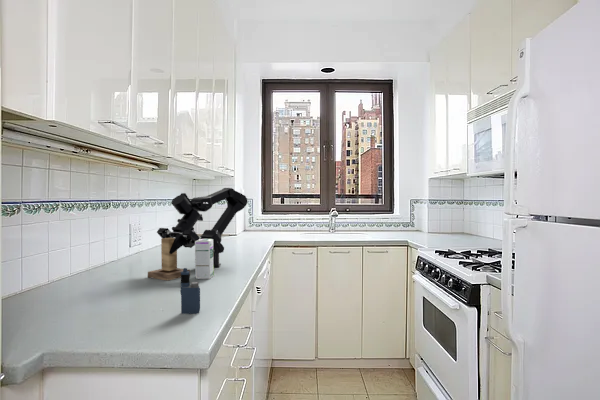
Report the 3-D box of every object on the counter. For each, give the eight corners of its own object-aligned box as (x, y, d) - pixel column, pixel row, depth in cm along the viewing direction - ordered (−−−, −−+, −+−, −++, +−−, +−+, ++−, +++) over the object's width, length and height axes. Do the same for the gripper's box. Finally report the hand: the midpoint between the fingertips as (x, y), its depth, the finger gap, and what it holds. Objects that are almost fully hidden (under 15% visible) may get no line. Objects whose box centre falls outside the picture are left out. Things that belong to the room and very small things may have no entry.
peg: (169, 268, 157) (169, 237, 156) (177, 269, 154) (176, 238, 154) (161, 269, 153) (161, 238, 153) (168, 270, 151) (168, 239, 151)
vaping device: (182, 311, 109) (182, 267, 109) (201, 311, 109) (201, 267, 109) (179, 313, 107) (179, 269, 107) (198, 314, 107) (198, 269, 106)
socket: (170, 272, 161) (170, 267, 161) (190, 275, 156) (190, 269, 156) (147, 277, 152) (147, 271, 152) (167, 280, 146) (167, 274, 146)
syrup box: (210, 279, 149) (210, 240, 149) (194, 278, 149) (194, 240, 149) (213, 275, 155) (214, 238, 155) (198, 275, 155) (198, 238, 155)
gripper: (214, 236, 162) (195, 267, 153) (182, 233, 171) (161, 263, 162) (200, 217, 155) (179, 249, 146) (167, 216, 164) (145, 246, 155)
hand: (166, 252), depth 152 cm, fingers closed on peg, 4 cm apart
